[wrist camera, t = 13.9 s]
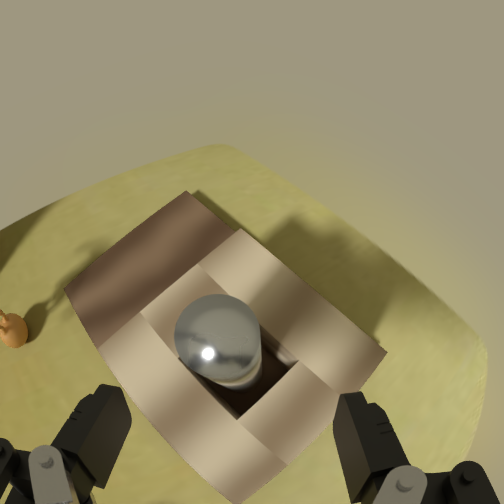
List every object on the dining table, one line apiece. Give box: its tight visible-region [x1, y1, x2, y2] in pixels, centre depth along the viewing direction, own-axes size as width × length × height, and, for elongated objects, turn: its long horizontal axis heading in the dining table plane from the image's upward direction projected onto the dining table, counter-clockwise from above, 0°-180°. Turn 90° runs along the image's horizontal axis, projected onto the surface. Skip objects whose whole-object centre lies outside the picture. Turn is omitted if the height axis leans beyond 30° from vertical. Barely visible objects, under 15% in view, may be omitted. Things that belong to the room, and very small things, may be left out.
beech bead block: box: [97, 228, 387, 504], centre depth 19 cm, size 14×14×6 cm
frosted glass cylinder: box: [174, 294, 262, 393], centre depth 16 cm, size 3×3×13 cm
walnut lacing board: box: [64, 191, 288, 499], centre depth 25 cm, size 26×18×2 cm
